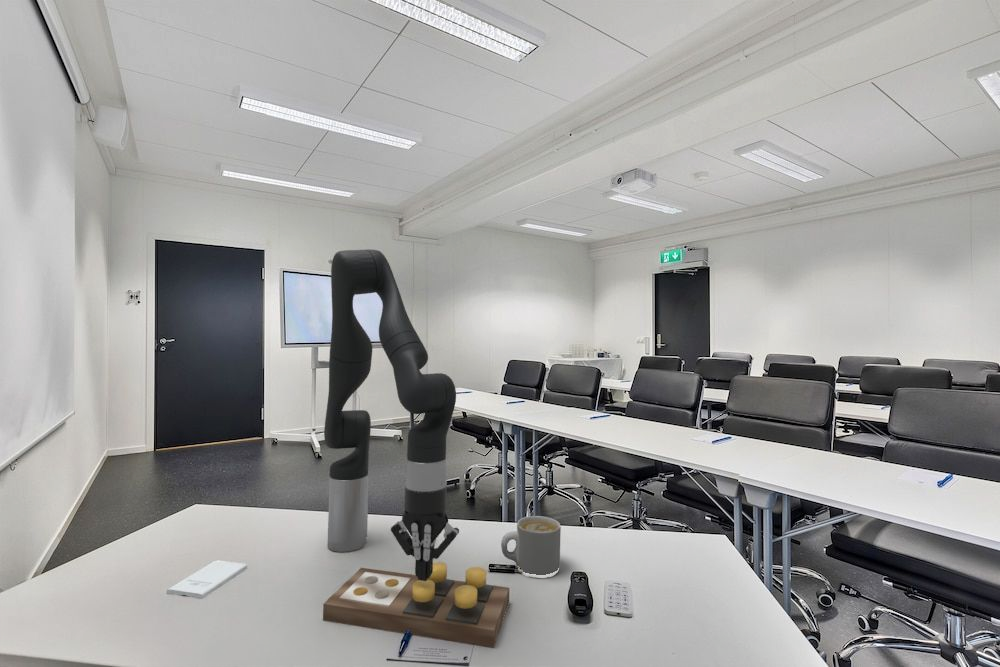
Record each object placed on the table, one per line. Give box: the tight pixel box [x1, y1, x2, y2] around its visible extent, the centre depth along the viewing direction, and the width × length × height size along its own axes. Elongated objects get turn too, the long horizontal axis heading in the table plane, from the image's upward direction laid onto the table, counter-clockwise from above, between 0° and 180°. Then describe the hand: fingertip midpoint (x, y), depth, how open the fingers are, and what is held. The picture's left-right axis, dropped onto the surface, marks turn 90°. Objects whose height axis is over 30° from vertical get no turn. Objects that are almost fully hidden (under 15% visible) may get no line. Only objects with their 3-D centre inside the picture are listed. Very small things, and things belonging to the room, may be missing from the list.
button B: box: [412, 580, 435, 602], centre depth 86 cm, size 4×4×2 cm
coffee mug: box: [500, 515, 562, 575], centre depth 108 cm, size 13×10×10 cm
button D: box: [455, 585, 477, 609], centre depth 85 cm, size 4×4×2 cm
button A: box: [427, 561, 448, 582], centre depth 93 cm, size 4×4×2 cm
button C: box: [464, 566, 487, 588], centre depth 91 cm, size 4×4×2 cm
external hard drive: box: [166, 559, 248, 600], centre depth 99 cm, size 2×8×12 cm
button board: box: [322, 567, 510, 649], centre depth 90 cm, size 14×32×4 cm, turn 78°
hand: (423, 578), depth 86 cm, fingers closed
